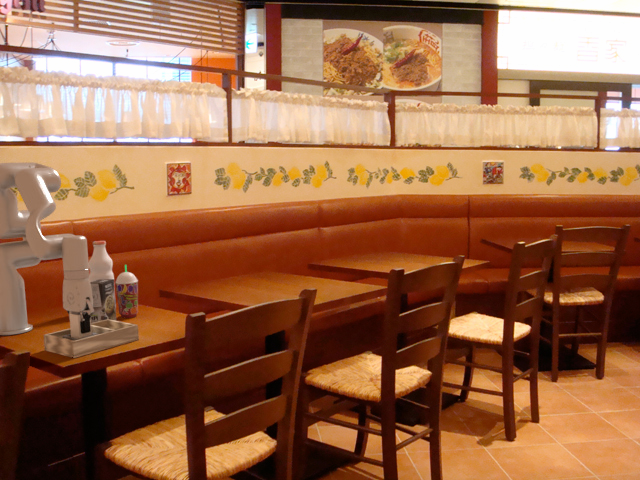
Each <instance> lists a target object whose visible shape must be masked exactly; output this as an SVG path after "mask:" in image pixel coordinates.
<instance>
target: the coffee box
mask: <svg viewBox="0 0 640 480" xmlns="http://www.w3.org/2000/svg"><path fill="white" fill-rule="evenodd" d="M90 284H91V289H92V296H93V309H94V313H93V314H92V316H91V323H94V322H98V321H102V320H107V319H110V320H115V321H117V311H116V310H117V305H116V306H115V300H116V289H115V290H114V285H115V278H114V279H99V280H96V281H92V282H90Z"/></svg>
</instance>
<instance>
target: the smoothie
mask: <svg viewBox="0 0 640 480" xmlns="http://www.w3.org/2000/svg"><path fill="white" fill-rule="evenodd" d="M127 265H128V264H124V271H123V272H121V273H119V275H117V278H116V280H115V281H114V284H115V292H116V298H117V306H118V313H119V315H120V318H123V319H131V318H135V317H137V315H138V313H139V279H138V278H137V276H135V274H134V273H132V272H129V271H128V270H127V269H128V268H127V267H128V266H127Z"/></svg>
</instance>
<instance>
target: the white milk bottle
mask: <svg viewBox="0 0 640 480" xmlns="http://www.w3.org/2000/svg"><path fill="white" fill-rule="evenodd" d="M106 245H107V242H106V240H94V241H92V246H93V252H92V255H91V257H90V258H89V259H88V263H89V277H90V282H92V281H96V280H99V279H114V280H115V274H114V272H113V267H114V266H113V265H114V261H113V259H112V258H111V257H110V255H109V253H108V252H107V248H106ZM114 290H115V291H116V284H114ZM115 306H116V307H117V303H116V299H115Z"/></svg>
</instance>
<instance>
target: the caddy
mask: <svg viewBox="0 0 640 480" xmlns="http://www.w3.org/2000/svg"><path fill="white" fill-rule="evenodd" d="M91 330H92V335H90V336H86V337H82V338H74V337H71V329H70V328H67V329H62V330H58V331H54V332H51V333H50V332H49V333H46V334H43V343H44V344H43V347H44V351H45V352H48V353H49V352H50V353H54V354H58V355H62V356H65V357H67V358H68V357H69V358H72V357H73V358H72V359H76V358H80V357H83V356H87V355H90V354H94V353H97V352H101V351H104V350H107V349H111V348H114V347H119V346H122V345H125V344H128V343H132V342H136V341H139V325H138V324H134V323H131V322H124V321H121V320H116V321H115V320H110V319H107V320H102V321H98V322H94V323H91Z"/></svg>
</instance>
